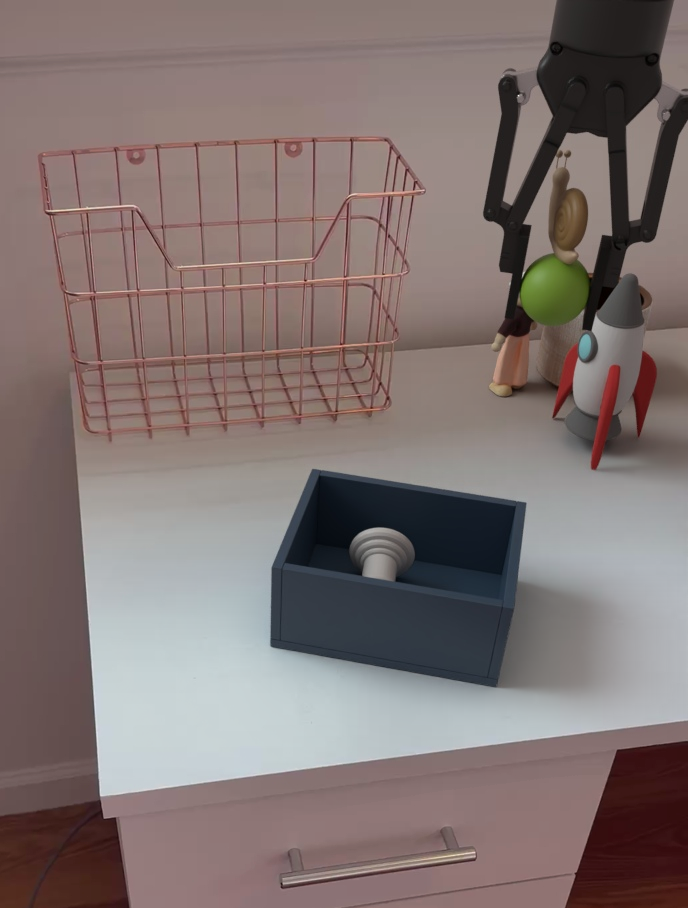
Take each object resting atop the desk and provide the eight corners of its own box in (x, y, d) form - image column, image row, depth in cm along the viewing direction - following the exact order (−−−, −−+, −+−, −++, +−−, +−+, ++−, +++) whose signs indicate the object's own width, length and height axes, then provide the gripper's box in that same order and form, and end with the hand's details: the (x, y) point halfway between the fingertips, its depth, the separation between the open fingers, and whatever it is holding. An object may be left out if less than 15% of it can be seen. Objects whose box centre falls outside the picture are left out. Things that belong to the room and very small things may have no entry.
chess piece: (409, 577, 86) (400, 659, 80) (346, 566, 86) (332, 647, 80) (420, 531, 82) (412, 613, 76) (354, 519, 82) (341, 601, 76)
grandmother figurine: (511, 404, 110) (533, 289, 101) (478, 394, 111) (497, 280, 102) (537, 376, 115) (560, 264, 106) (505, 367, 116) (525, 255, 108)
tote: (510, 578, 87) (526, 502, 82) (496, 687, 77) (514, 608, 72) (308, 544, 90) (312, 468, 84) (269, 646, 80) (271, 567, 74)
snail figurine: (562, 301, 85) (596, 148, 77) (592, 337, 81) (631, 178, 73) (500, 303, 84) (528, 148, 76) (527, 339, 80) (559, 178, 72)
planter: (543, 396, 111) (561, 312, 105) (527, 350, 119) (543, 269, 113) (642, 400, 112) (666, 317, 105) (620, 354, 120) (641, 273, 113)
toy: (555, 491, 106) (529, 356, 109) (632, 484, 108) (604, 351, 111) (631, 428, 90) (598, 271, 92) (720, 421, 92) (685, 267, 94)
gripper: (471, -27, 65) (428, 320, 81) (770, 4, 63) (666, 355, 78) (484, -46, 71) (441, 282, 86) (760, -18, 68) (665, 315, 84)
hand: (548, 316), depth 82 cm, fingers closed on snail figurine, 5 cm apart
